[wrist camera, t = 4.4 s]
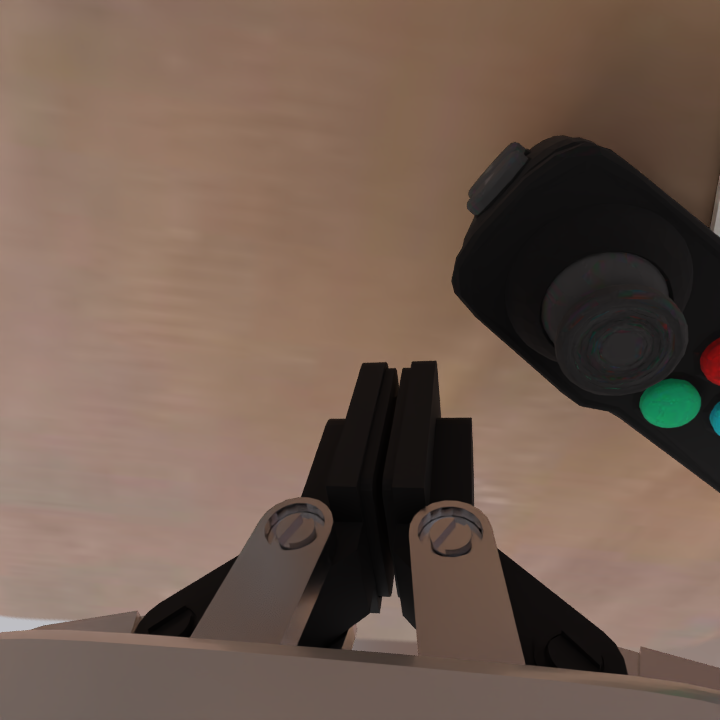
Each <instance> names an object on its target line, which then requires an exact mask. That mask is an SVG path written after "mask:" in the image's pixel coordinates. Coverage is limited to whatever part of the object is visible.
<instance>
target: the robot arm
mask: <svg viewBox="0 0 720 720" xmlns="http://www.w3.org/2000/svg"><path fill="white" fill-rule="evenodd" d="M394 575H395V581H396V588H397V594H398V597H400V600H401V607H402V613H403V616H404V617H405V618H406V619H407V620H408V622H409V623H410V624H411V625H412V626H413V627H414V628H415V629H416V633H417V646H418V656H415V655H414V656H413V655H403V654H391V653H378V652H366V651H354V650H352V648H353V645H354V642H355V639H356V633H357V625H356V623H357V622H359V621H360V620H362V619H363V618H364V617H366V616H367V615H368V614H370V613H380V608H381V601H382V596H384V597H390V596H391V594H392V587H393V580H394ZM0 720H720V668H718V667H714V666H710V665H707V664H703V663H699V662H695V661H692V660H688V659H685V658H681V657H677V656H674V655H670V654H666V653H663V652H659V651H655V650H652V649H648V648H644V647H640V652H639V653H638V652H634V651H631V650H627V649H623V648H620V647H617V645H616V644H615V643H614V642H613V641H612V640H611V639H610V638H609V637H608V636H607V635H606V634H605V633H604V632H603V631H602V630H600V629H599V628H598V627H597V626H595V625H594V624H593V623H591V622H590V621H589V620H588V619H586V618H585V617H584V616H583V615H581V614H580V613H579V612H578V611H576V610H575V609H574V608H572V607H571V606H570V605H569V604H567V603H566V602H565V601H564V600H562V599H561V598H560V597H558V596H557V595H556V594H555V593H553V592H552V591H551V590H550V589H548V588H547V587H546V586H545V585H543V584H542V583H541V582H539V581H538V580H537V579H536V578H534V577H533V576H532V575H531V574H529V573H528V572H527V571H526V570H524V569H523V568H522V567H520V566H519V565H518V564H517V563H515V562H514V561H513V560H512V559H510V558H509V557H508V556H506V555H505V554H504V553H503V552H501V551H500V550H499V549H498V548H497V546H496V542H495V538H494V534H493V529H492V526H491V524H490V522H489V520H488V518H487V517H486V516H485V515H484V514H483V512H482V511H481V510H479V509H478V508H476V507H474V469H473V439H472V418H441V410H440V396H439V383H438V370H437V362H436V361H413V362H412V364H411V368H403V369H402V374H401V380H400V385H399V383H398V375H397V370H396V368H388V364H387V362H379V363H363V364H362V366H361V369H360V372H359V376H358V379H357V382H356V386H355V389H354V392H353V396H352V399H351V402H350V406H349V409H348V412H347V416H346V419H329V420H328V422H327V424H326V426H325V429H324V432H323V435H322V438H321V441H320V444H319V447H318V449H317V452H316V455H315V458H314V461H313V464H312V467H311V470H310V473H309V476H308V479H307V482H306V484H305V487H304V490H303V493H302V496H301V497H297V498H293V499H288V500H285V501H283V502H281V503H278V504H276V505H275V506H274V507H272V508H271V509H270V510H268V511H267V512H266V513H265V514H264V516H263V517H262V518H261V519H260V521H259V523H258V524H257V526H256V528H255V529H254V531H253V533H252V534H251V536H250V538H249V539H248V541H247V543H246V544H245V546H244V548H243V549H242V551H241V553H240V554H239V555H238V556H237V557H235V558H233V559H232V560H230V561H228V562H227V563H225V564H223V565H222V566H220V567H218V568H217V569H215V570H213V571H212V572H210V573H209V574H207V575H205V576H204V577H202V578H200V579H199V580H197V581H195V582H194V583H192V584H190V585H189V586H187V587H185V588H184V589H182V590H180V591H179V592H177V593H175V594H174V595H172V596H171V597H169V598H167V599H166V600H164V601H162V602H161V603H159V604H158V605H157V606H155V607H154V608H153V609H151V610H150V611H149V612H148V613H147V614H146V615H145V616H140V614H139V612H138V611H133V612H127V613H120V614H114V615H108V616H101V617H95V618H89V619H82V620H76V621H70V622H63V623H57V624H51V625H45V626H41V627H38V628H34V629H32V630H25V631H12V632H1V633H0Z"/></svg>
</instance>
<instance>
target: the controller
mask: <svg viewBox="0 0 720 720" xmlns="http://www.w3.org/2000/svg"><path fill="white" fill-rule="evenodd" d="M468 195H469V198H470V199H469V201H468V202H467V209H468V210H469V211H470V212H471V213H472V214H474V215H475V217H474V219H473V221H472V223H471V225H470V228H469V230H468V232H467V234H466V236H465V239H464V243H463V246H462V249H461V251H460V252H459V254H458V255H457V257H456V262H455V266H454V271H453V276H452V281H451V282H452V285H453V289H454V292H455V294H456V295H457V296H458V297H459V298H460V300H461V301H462V302H463V303H464V304H465V305H466V307H467V308H468V309H469V310H470V311H471V312H472V313H473V315H474V316H475V317H476V318H477V319H478V320H480V321H481V322H482V323H483V324H484V325H485V326H486V327H488V328H489V329H490V330H491V331H492V332H493V333H494V334H495V335H497V336H498V337H499V338H500V339H501V340H502V341H503V342H505V343H506V344H507V345H508V346H509V347H510V348H511V349H513V350H514V351H515V352H516V353H517V354H518V355H519V356H521V357H522V358H523V359H524V360H525V361H526V362H527V363H529V364H530V365H531V366H532V367H533V368H534V369H535V370H537V371H538V372H539V373H540V374H541V375H542V376H543V377H545V378H546V379H547V380H548V381H549V382H550V383H551V384H552V385H554V386H555V387H556V388H557V389H558V390H559V391H560V392H562V393H563V394H564V395H566V396H567V397H568V398H570V399H571V400H573V401H574V402H575V403H577V404H578V405H580V406H582V407H588V408H593V409H598V410H603V411H609V412H610V413H612V414H614V415H615V416H617V417H619V418H620V419H622V420H623V421H624V422H626V423H627V424H628V425H630V426H631V427H632V428H634V429H635V430H636V431H638V432H639V433H640V434H642V435H643V436H644V437H646V438H647V439H648V440H650V441H651V442H652V443H654V444H655V445H656V446H658V447H659V448H660V449H662V450H663V451H664V452H666V453H667V454H669V455H670V456H671V457H673V458H674V459H675V460H677V461H678V462H679V463H681V464H682V465H683V466H685V467H686V468H687V469H689V470H690V471H691V472H693V473H694V474H695V475H697V476H698V477H699V478H701V479H702V480H703V481H705V482H706V483H707V484H709V485H710V486H711V487H713V488H714V489H715V490H717V491H718V492H719V493H720V237H719V236H718V235H717V234H715V233H714V232H713V231H712V230H710V229H709V228H708V227H707V226H705V225H704V224H703V223H702V222H701V221H699V220H698V219H697V218H696V217H694V216H693V215H692V214H691V213H689V212H688V211H687V210H686V209H685V208H683V207H682V206H681V205H680V204H678V203H677V202H676V201H675V200H673V199H672V198H671V197H670V196H669V195H667V194H666V193H665V192H664V191H662V190H661V189H660V188H659V187H657V186H656V185H655V184H654V183H653V182H651V181H650V180H649V179H648V178H646V177H645V176H644V175H643V174H641V173H640V172H639V171H638V170H637V169H635V168H634V167H633V166H631V165H630V164H629V163H628V162H626V161H625V160H624V159H622V158H621V157H620V156H618V155H617V154H616V153H614V152H613V151H612V150H610V149H607V148H604V147H600V146H598V145H596V144H595V143H593V142H592V141H589V140H586V139H583V138H580V137H579V138H571V137H568V136H564V135H562V136H553V137H551V138H548V139H546V140H543V141H542V142H540V143H539V144H537V145H535V146H534V147H533V148H531V149H530V150H529V149H525V148H524V147H523V146H522V145H520V144H519V143H517V142H513V143H511V144H510V145H509V146H507V147H506V148H505V149H504V151H503V152H502V153H501V154H500V155H499V156H498V157H497V158H496V159H495V160H494V161H493V162H492V164H491V165H490V166H489V167H488V168H487V169H486V170H485V172H484V173H483V174H482V175H481V176H480V178H479V179H478V180H477V181H476V182H475V184H474V185H473V186H472V187H471V189H470V190H469V193H468Z"/></svg>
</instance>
